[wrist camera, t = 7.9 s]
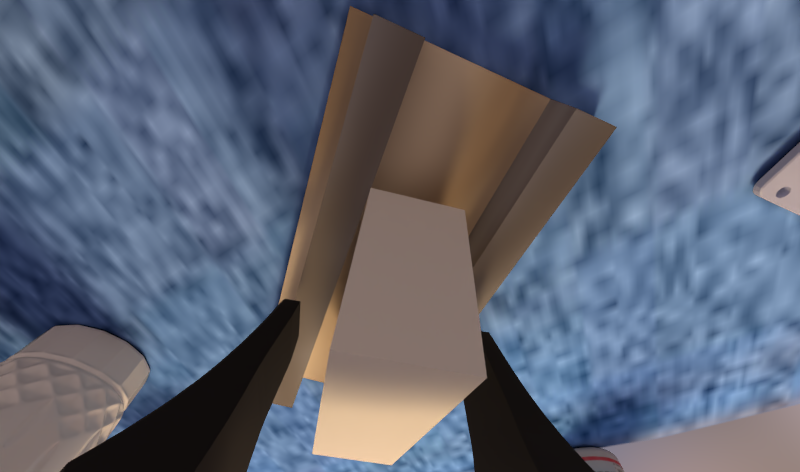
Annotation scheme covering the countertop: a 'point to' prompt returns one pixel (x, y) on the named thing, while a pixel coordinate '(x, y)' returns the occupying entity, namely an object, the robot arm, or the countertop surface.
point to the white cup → (64, 396)
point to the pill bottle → (600, 459)
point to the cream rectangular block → (401, 332)
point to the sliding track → (425, 167)
